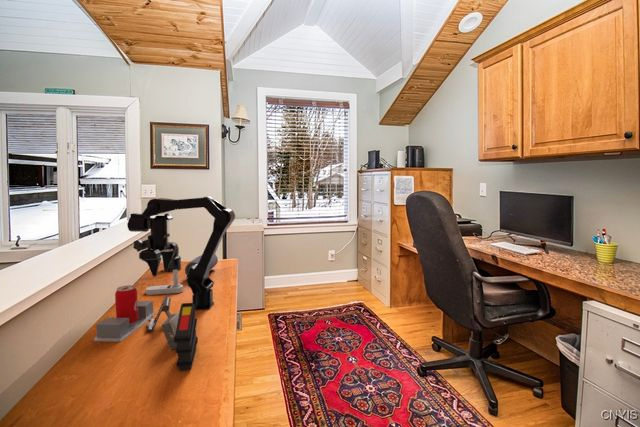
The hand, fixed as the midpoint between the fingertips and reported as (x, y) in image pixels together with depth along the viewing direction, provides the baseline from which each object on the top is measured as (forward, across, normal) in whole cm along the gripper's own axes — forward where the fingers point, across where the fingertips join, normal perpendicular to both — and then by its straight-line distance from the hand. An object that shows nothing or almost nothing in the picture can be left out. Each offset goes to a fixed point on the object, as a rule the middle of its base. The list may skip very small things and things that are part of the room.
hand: (160, 272), depth 128 cm
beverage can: (+12, +18, -2) cm, 22 cm away
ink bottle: (+13, -53, -19) cm, 58 cm away
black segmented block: (+13, +40, +26) cm, 49 cm away
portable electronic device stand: (+13, +18, +8) cm, 24 cm away
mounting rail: (+13, +18, -2) cm, 23 cm away
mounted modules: (+13, +18, -2) cm, 23 cm away
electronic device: (+14, -16, -6) cm, 22 cm away
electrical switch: (+13, +30, +19) cm, 38 cm away
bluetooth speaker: (+13, -44, 0) cm, 46 cm away
